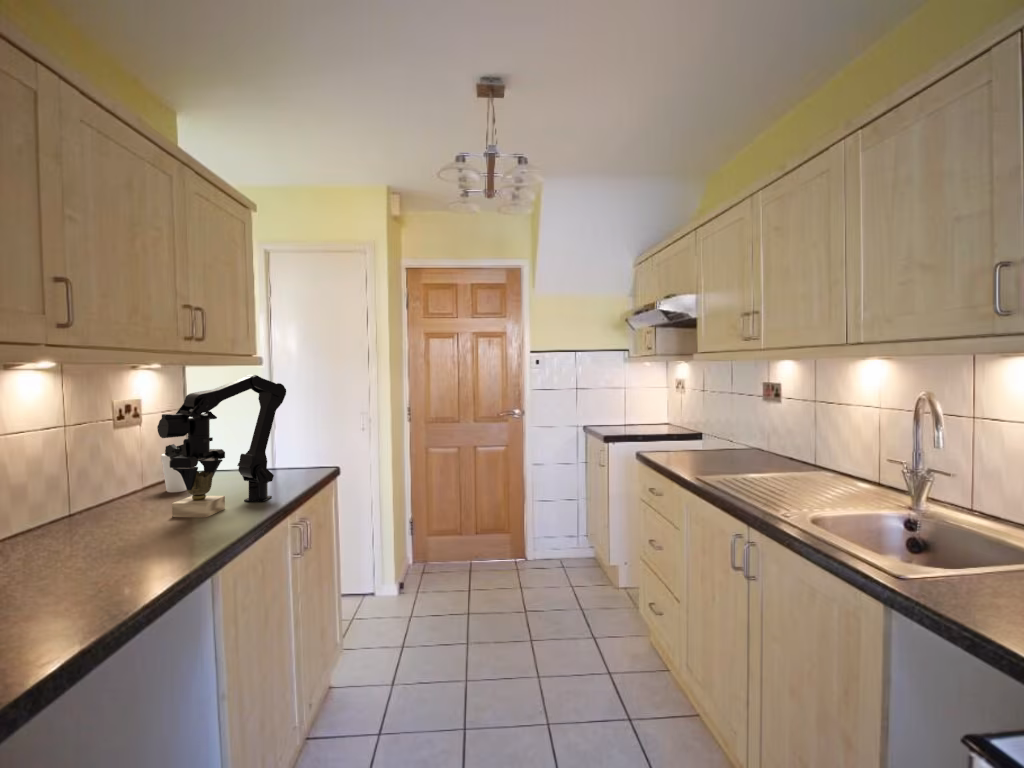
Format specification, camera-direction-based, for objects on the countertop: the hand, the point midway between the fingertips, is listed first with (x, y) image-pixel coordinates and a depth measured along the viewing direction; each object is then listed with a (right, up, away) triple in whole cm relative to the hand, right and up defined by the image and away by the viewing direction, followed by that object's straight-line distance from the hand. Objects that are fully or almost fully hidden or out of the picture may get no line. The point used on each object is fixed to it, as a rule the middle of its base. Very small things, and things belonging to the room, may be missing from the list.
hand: (198, 486), depth 163 cm
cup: (0, -4, 0) cm, 4 cm away
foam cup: (-25, -7, +30) cm, 40 cm away
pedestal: (0, -8, 0) cm, 8 cm away
